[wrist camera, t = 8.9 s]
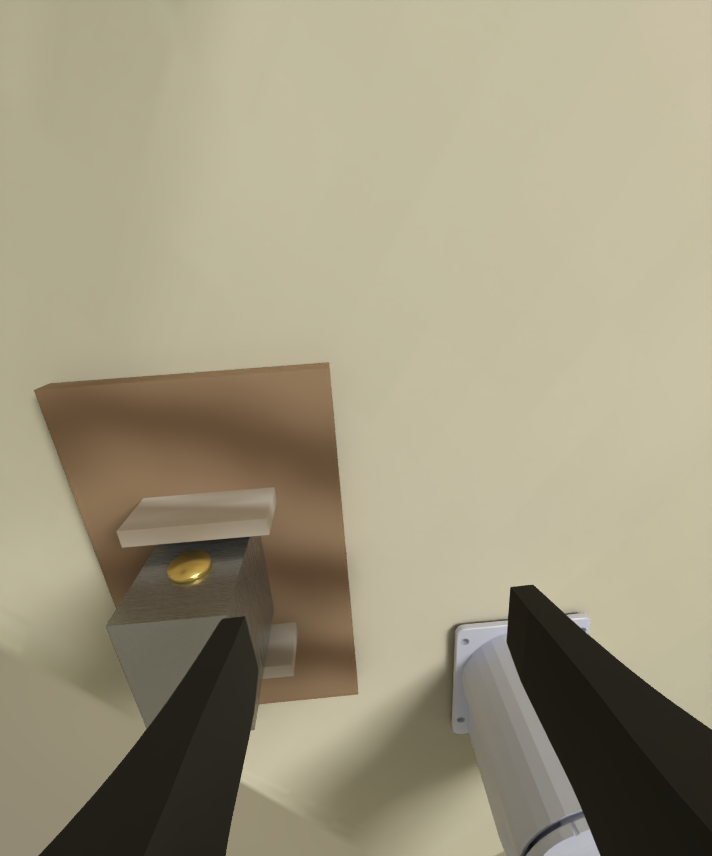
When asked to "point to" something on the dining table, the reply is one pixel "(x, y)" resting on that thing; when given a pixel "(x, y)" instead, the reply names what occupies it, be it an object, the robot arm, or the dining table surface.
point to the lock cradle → (221, 495)
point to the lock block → (189, 613)
